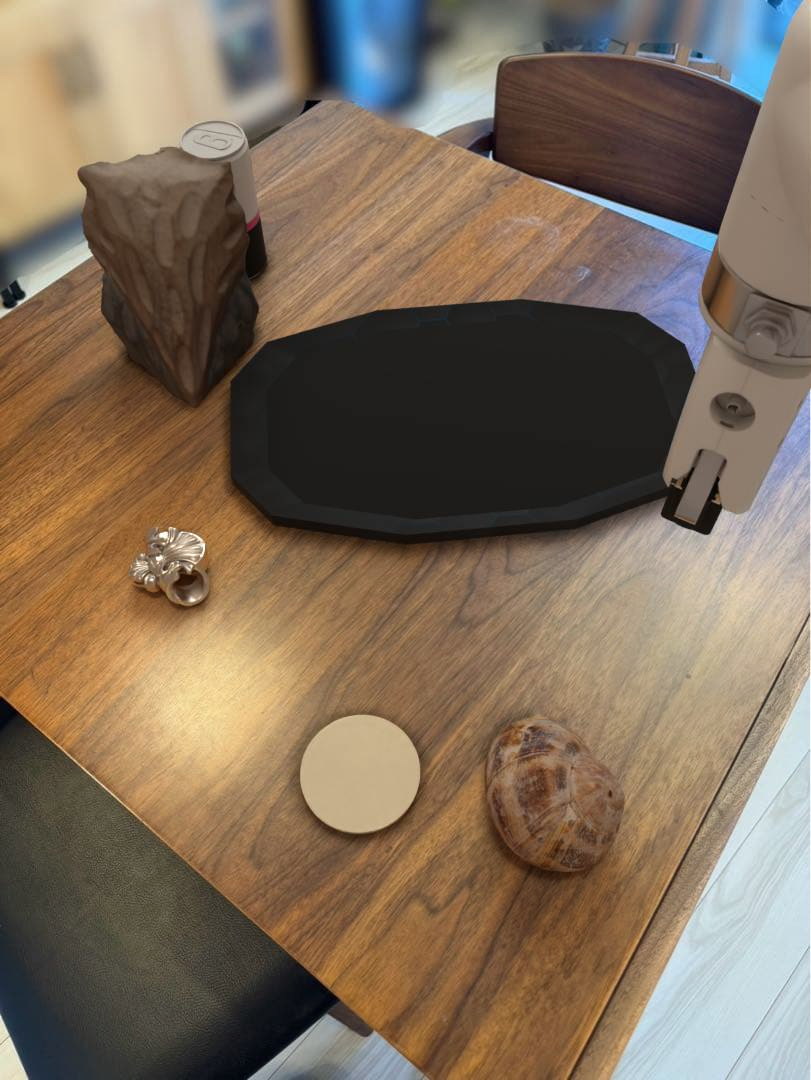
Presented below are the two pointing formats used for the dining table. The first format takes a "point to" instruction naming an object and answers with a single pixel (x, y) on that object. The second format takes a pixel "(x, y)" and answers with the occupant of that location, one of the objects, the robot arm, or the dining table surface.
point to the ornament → (172, 565)
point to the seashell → (551, 796)
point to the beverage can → (232, 146)
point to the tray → (458, 420)
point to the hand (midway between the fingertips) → (688, 517)
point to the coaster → (360, 774)
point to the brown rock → (172, 265)
